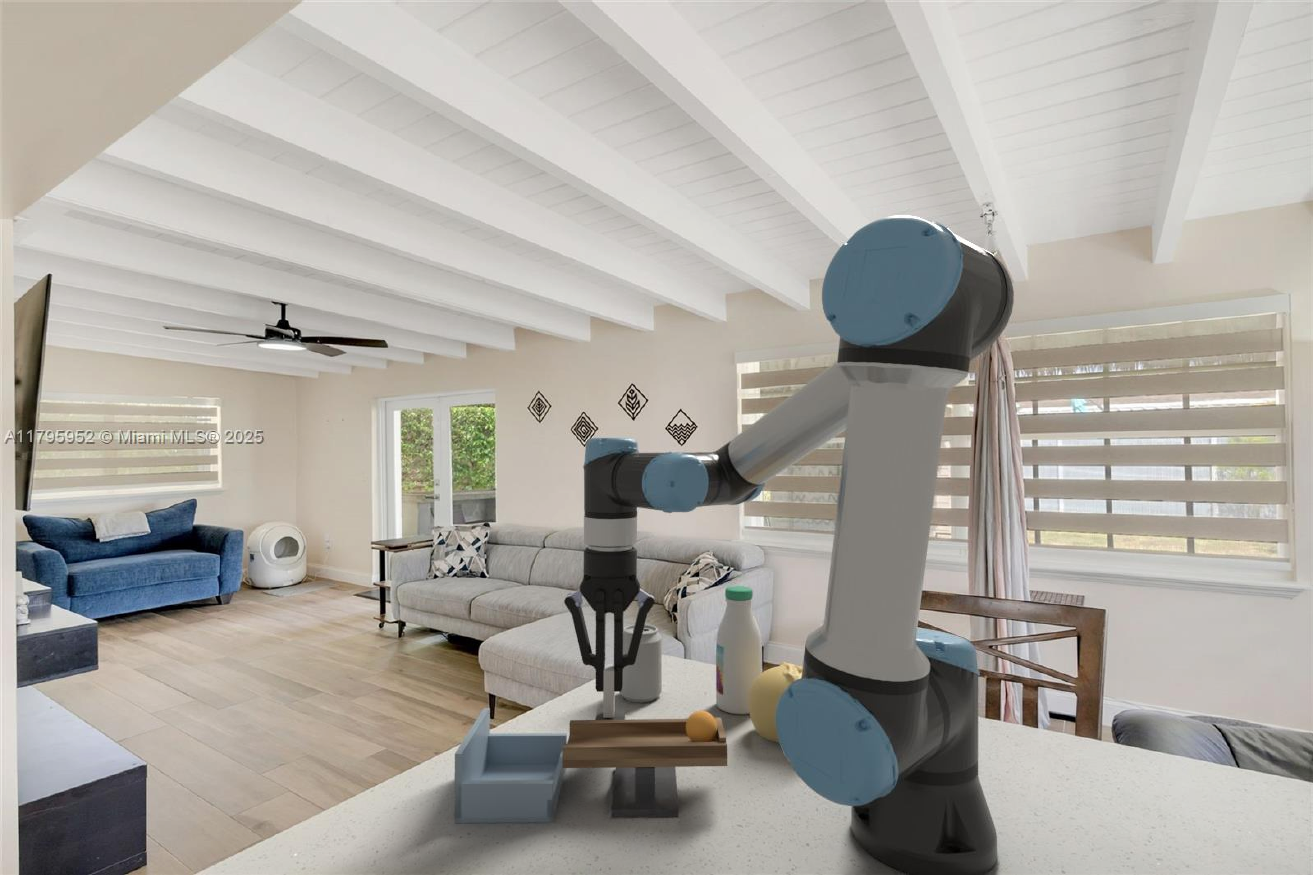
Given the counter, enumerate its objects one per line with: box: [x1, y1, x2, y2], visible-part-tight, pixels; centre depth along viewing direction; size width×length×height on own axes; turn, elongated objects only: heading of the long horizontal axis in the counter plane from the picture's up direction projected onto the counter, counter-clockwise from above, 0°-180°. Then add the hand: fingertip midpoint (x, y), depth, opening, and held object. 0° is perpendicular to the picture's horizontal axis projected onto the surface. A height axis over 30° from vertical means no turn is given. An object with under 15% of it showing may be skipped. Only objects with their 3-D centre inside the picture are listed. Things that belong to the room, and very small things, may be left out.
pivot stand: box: [610, 767, 680, 819], centre depth 84 cm, size 12×8×4 cm, turn 1°
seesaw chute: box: [562, 706, 728, 769], centre depth 88 cm, size 16×20×3 cm
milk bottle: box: [715, 585, 763, 715], centre depth 112 cm, size 8×8×20 cm
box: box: [453, 707, 568, 824], centre depth 84 cm, size 14×11×8 cm
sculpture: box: [749, 661, 803, 743], centre depth 100 cm, size 12×12×11 cm
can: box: [618, 623, 663, 703], centre depth 116 cm, size 8×8×12 cm
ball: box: [686, 710, 717, 742], centre depth 84 cm, size 4×4×4 cm
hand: (608, 713), depth 93 cm, fingers closed
